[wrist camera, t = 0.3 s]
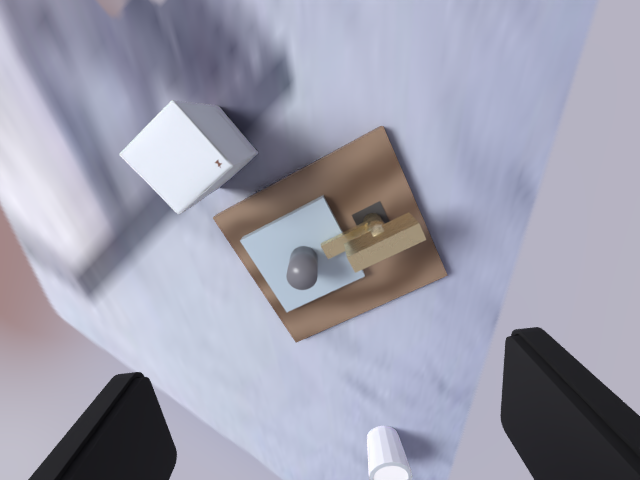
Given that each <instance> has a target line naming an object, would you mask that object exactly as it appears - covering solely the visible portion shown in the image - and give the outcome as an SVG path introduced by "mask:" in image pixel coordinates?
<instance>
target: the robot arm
mask: <svg viewBox="0 0 640 480" xmlns="http://www.w3.org/2000/svg"><path fill="white" fill-rule="evenodd" d="M501 422H502V425H503V428H504V431H505V432H506V434H507V436H508V437H509V439H510V441H511V442H512V444H513V445H514V447H515V449H516V450H517V452H518V454H519V455H520V457H521V459H522V460H523V462H524V463H525V465H526V467H527V468H528V470H529V472H530V473H531V475H532V476H533V478H534V480H640V416H639V415H638V414H637V413H635V412H634V411H633V410H632V409H631V408H630V407H629V406H627V404H625V403H624V402H623V401H622V400H621V399H620V398H619V397H618V396H617V395H615V394H614V393H613V392H612V391H611V390H610V389H609V388H608V387H606V386H605V385H604V384H603V383H602V382H601V381H600V380H599V379H597V378H596V377H595V376H594V375H593V374H592V373H591V372H590V371H589V370H587V369H586V368H585V367H584V366H583V365H582V364H581V363H580V362H579V361H577V360H576V359H575V358H574V357H573V356H572V355H571V354H570V353H568V352H567V351H566V350H565V349H564V348H563V347H562V346H561V345H560V344H558V343H557V342H556V341H555V340H554V339H553V338H552V337H551V336H550V335H549V334H547V333H546V332H545V331H544V330H542V329H541V328H538V327H534V328H526V329H516V330H514V331H513V332H512V334H511V336H509V337H507V338H506V342H505V358H504V372H503V388H502V402H501ZM176 457H177V451H176V448H175V445H174V442H173V440H172V437H171V434H170V432H169V429H168V426H167V424H166V421H165V419H164V416H163V413H162V410H161V408H160V405H159V403H158V400H157V397H156V395H155V392H154V389H153V387H152V384H151V381H150V379H149V378H148V377H144V375H143V374H142V373H141V372H134V373H126V374H118V375H115V376H114V377H113V378H112V379H111V380H110V382H109V383H108V384H107V385H106V386H105V388H104V389H103V390H102V391H101V392H100V394H99V395H98V396H97V397H96V398H95V400H94V401H93V402H92V403H91V404H90V406H89V407H88V408H87V409H86V410H85V412H84V413H83V414H82V415H81V416H80V418H79V419H78V420H77V421H76V423H75V424H74V425H73V426H72V427H71V429H70V430H69V431H68V432H67V434H66V435H65V436H64V437H63V438H62V440H61V441H60V442H59V443H58V444H57V446H56V447H55V448H54V449H53V450H52V452H51V453H50V454H49V455H48V457H47V458H46V459H45V460H44V461H43V463H42V464H41V465H40V466H39V467H38V469H37V470H36V471H35V472H34V473H33V475H32V476H31V477H30V478H29V480H169V478H170V476H171V473H172V471H173V469H174V467H175V464H176Z"/></svg>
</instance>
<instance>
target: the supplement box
mask: <svg viewBox="0 0 640 480" xmlns="http://www.w3.org/2000/svg"><path fill="white" fill-rule="evenodd" d="M257 154H258V152H257V151H256V149H255V148H254V147H253V146H252V145H251V143H250V142H249V141H248V140H247V139H246V138H245V136H244V135H243V134H242V133H241V132H240V131H239V129H238V128H237V127H236V126H235V125H234V123H233V122H232V121H231V120H230V119H229V118H228V116H227V115H226V114H225V113H224V112H223V110H222V109H221V108H220V107H219V106H218V105H210V104H200V103H191V102H182V101H174V100H172V101H171V102H170V103H169V104H168V105H167V106H166V107H165V108H164V109H163V110H162V111H161V112H160V113H159V114H158V115H157V116H156V117H155V118H154V119H153V120H152V121H151V122H150V123H149V124H148V125H147V126H146V127H145V128H144V129H143V130H142V131H141V132H140V133H139V134H138V135H137V136H136V137H135V138H134V139H133V140H132V141H131V142H130V143H129V145H128V146H127V147H126V148H125V149H124V150H123V151H122V152H121V153H120V154H119V155H120V156H121V157H122V158H123V159H124V160H125V161H126V162H127V163H128V164H129V165H130V166H131V167H132V168H133V169H134V170H135V171H136V172H137V173H138V174H139V175H140V176H141V177H142V178H143V179H144V180H145V181H146V182H147V183H148V184H149V185H150V186H151V187H152V188H153V189H154V190H155V191H156V192H157V193H158V194H159V195H160V197H161V198H162V199H163V200H164V201H165V202H166V203H167V204H168V205H169V206H170V207H171V208H172V209H173V210H174V211H175V212H176V213H177V214H181V213H183V212H184V211H186V210H187V209H189V208H191V207H192V206H193V205H195V204H196V203H198V202H199V201H201V200H202V199H203V198H205V197H206V196H208V195H209V194H211V193H212V192H214V191H215V190H217V189H218V188H220V187H221V186H222V185H223V184H225V183H226V182H227V181H228V180H229V179H231V178H232V177H233V176H234V175H235V174H236V173H238V172H239V171H240V170H241V169H242V168H243V167H244V166H245V165H246V164H247V163H248V162H250V161H251V160H252V159H253V158H254V157H255V156H256V155H257Z"/></svg>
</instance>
